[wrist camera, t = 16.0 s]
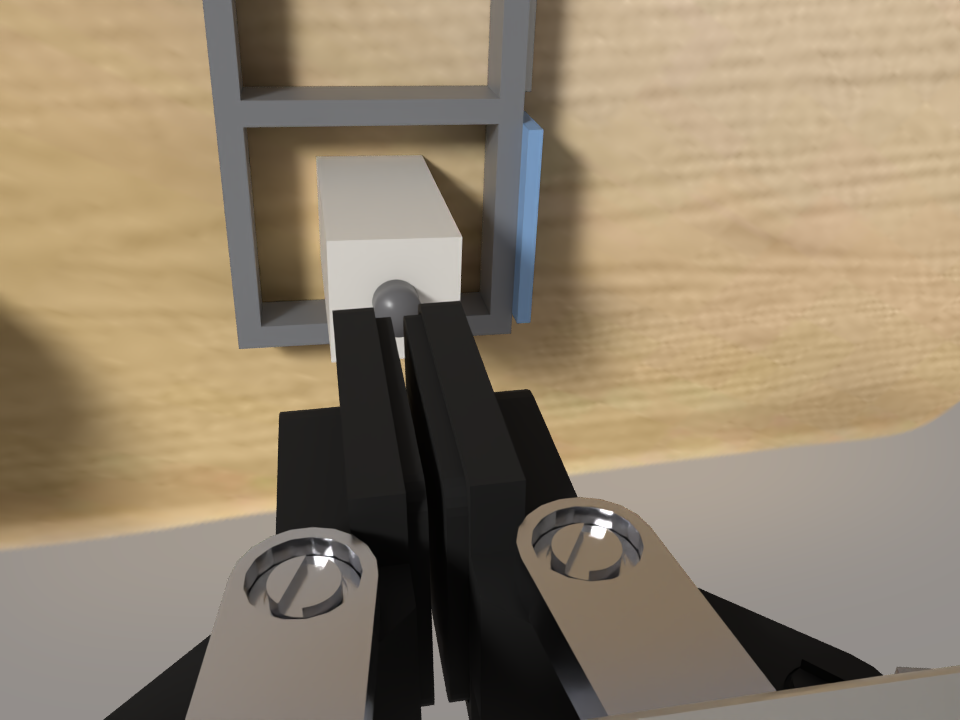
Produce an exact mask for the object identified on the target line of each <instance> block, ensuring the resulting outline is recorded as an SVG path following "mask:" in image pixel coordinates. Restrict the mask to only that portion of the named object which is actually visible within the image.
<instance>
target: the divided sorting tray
mask: <svg viewBox="0 0 960 720" xmlns="http://www.w3.org/2000/svg"><path fill="white" fill-rule="evenodd" d="M536 3H537V0H491V5H490V32H489V58H488V85H487V86H303V87H243V81H242V69H241V58H240V47H239V36H238V24H237V13H236V2H235V0H203V9H204V19H205V28H206V38H207V47H208V57H209V66H210V76H211V85H212V95H213V105H214V114H215V124H216V133H217V143H218V152H219V162H220V171H221V181H222V190H223V200H224V209H225V219H226V229H227V238H228V248H229V257H230V267H231V276H232V286H233V295H234V305H235V314H236V324H237V333H238V343H239V349H247V348H265V347H282V346H300V345H318V344H330V343H329V333H328V323H327V314H326V304H325V299H324V300H303V301H282V302H262V295H261V284H260V273H259V261H258V250H257V239H256V227H255V216H254V205H253V194H252V182H251V171H250V160H249V148H248V137H247V127H311V126H390V125H468V124H486V138H485V164H484V191H483V217H482V244H481V270H480V292H470V293H460V302H461V304H462V307H463V310H464V312H465V315H466V318H467V320H468V323H469V326H470V329H471V331H472V334H473V336H476V335H494V334H511V324H512V314H513V316H514V318H515V320H516V322H517V323H530V321H531V306H532V291H533V277H534V262H535V247H536V233H537V218H538V203H539V189H540V174H541V159H542V145H543V129H542V128H541V127H540V126H539V125H538V124H537V123H536V122H535V121H534V120H533V119H532V118H531V117H530V116H529V115H528V114H527V113H526V112H525V111H524V96H525V92H531V86H532V69H533V53H534V36H535V20H536Z"/></svg>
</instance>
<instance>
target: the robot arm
mask: <svg viewBox="0 0 960 720" xmlns="http://www.w3.org/2000/svg"><path fill="white" fill-rule="evenodd" d="M332 314H333V326H334V339H335V351H336V363H337V376H338V388H339V400H340V407H330V408H320V409H309V410H298V411H287V412H280V414H279V438H278V475H277V511H276V535H274V536H271V537H269V538H267V539H265V540H264V541H262V542H260V543H258V544H257V545H255V546H253V547H251V548H250V549H249V550H248V551H247V552H246V553H245V554H244V555H243V556H242V557H241V558H240V559H239V560H238V561H237V562H236V564H235V566H234V568H233V570H232V572H231V574H230V576H229V578H228V581H227V584H226V587H225V591H224V594H223V597H222V601H221V604H220V607H219V610H218V614H217V617H216V620H215V623H214V627H213V630H212V633H211V635H209V636H208V637H207V638H206V639H204V640H203V641H202V642H201V643H199V644H198V645H197V646H196V647H194V648H193V649H192V650H191V651H189V652H188V653H187V654H186V655H184V656H183V657H182V658H181V659H179V660H178V661H177V662H176V663H174V664H173V665H172V666H171V667H169V668H168V669H167V670H165V671H164V672H163V673H162V674H160V675H159V676H158V677H157V678H155V679H154V680H153V681H152V682H150V683H149V684H148V685H147V686H145V687H144V688H143V689H141V690H140V691H139V692H138V693H136V694H135V695H134V696H133V697H131V698H130V699H129V700H128V701H127V702H125V703H124V704H123V705H121V706H120V707H119V708H118V709H116V710H115V711H114V712H112V713H111V714H110V715H109V716H107V717H106V718H105V719H104V720H421V707H422V706H429V705H434V674H433V673H434V672H433V641H432V615H433V620H434V626H435V631H436V637H437V642H438V647H439V653H440V658H441V664H442V670H443V676H444V681H445V686H446V692H447V697H448V701H449V702H456V701H463V700H465V701H466V706H467V711H468V716H469V720H960V665H958V666H951V667H944V668H937V669H929V668H909V667H897V668H896V671H895V674H892V675H884V676H883V675H882V674H881V673H880V672H879V671H878V670H876V669H875V668H874V667H873V666H871V665H869V664H867V663H866V662H864V661H862V660H860V659H858V658H856V657H855V656H853V655H851V654H849V653H847V652H844V651H842V650H840V649H837V648H835V647H833V646H831V645H828V644H826V643H824V642H821V641H819V640H817V639H815V638H812V637H810V636H808V635H805V634H803V633H801V632H798V631H796V630H794V629H792V628H789V627H787V626H785V625H782V624H780V623H777V622H775V621H773V620H771V619H769V618H766V617H764V616H762V615H759V614H757V613H755V612H752V611H750V610H748V609H746V608H743V607H741V606H739V605H736V604H734V603H732V602H729V601H727V600H725V599H723V598H720V597H718V596H716V595H713V594H711V593H709V592H707V591H704V590H702V589H700V588H697V587H696V585H695V584H694V583H693V582H692V580H691V579H690V578H689V576H688V575H687V574H686V572H685V571H684V570H683V569H682V567H681V566H680V565H679V563H678V562H677V561H676V559H675V558H674V557H673V556H672V554H671V553H670V552H669V550H668V549H667V548H666V547H665V545H664V544H663V542H662V541H661V540H660V539H659V537H658V536H657V535H656V533H655V532H654V531H653V529H652V528H651V527H650V526H649V525H648V524H647V523H646V522H645V521H644V520H643V519H642V518H641V517H640V516H639V515H637V514H636V513H634V512H632V511H630V510H628V509H627V508H625V507H623V506H621V505H618V504H615V503H612V502H608V501H605V500H601V499H593V498H583V497H577V495H576V493H575V490H574V488H573V486H572V483H571V481H570V479H569V476H568V474H567V472H566V470H565V467H564V465H563V463H562V460H561V458H560V456H559V453H558V451H557V449H556V447H555V444H554V442H553V440H552V437H551V435H550V433H549V431H548V428H547V426H546V424H545V421H544V419H543V417H542V415H541V412H540V410H539V408H538V405H537V403H536V401H535V398H534V396H533V395H532V393H531V391H530V390H528V389H524V390H513V391H502V392H494V391H493V389H492V386H491V383H490V380H489V378H488V375H487V372H486V370H485V367H484V364H483V361H482V359H481V356H480V353H479V350H478V348H477V345H476V342H475V340H474V337H473V334H472V331H471V329H470V326H469V323H468V320H467V318H466V315H465V312H464V310H463V307H462V304H461V302H460V301H449V302H436V303H423V304H419V305H418V315H407V316H404V317H403V331H404V353H405V374H406V387H405V382H404V377H403V373H402V368H401V363H400V358H399V353H398V348H397V343H396V339H395V334H394V329H393V324H392V319H391V317H382V318H376V317H375V312H374V307H370V308H357V309H344V310H332ZM431 609H432V612H431Z"/></svg>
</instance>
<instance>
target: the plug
mask: <svg viewBox="0 0 960 720" xmlns="http://www.w3.org/2000/svg"><path fill="white" fill-rule="evenodd" d="M316 166H317V188H318V211H319V233H320V255H321V265H322V275H323V284H324V294H325V304H326V314H327V323H328V333H329V343H330V352H331V362H336V351H335V339H334V326H333V314H332V310H344V309H357V308H370V307H374V312H375V317H376V318H382V317H391V319H392V324H393V329H394V334H395V339H396V343H397V348H398V353H399V358H400V359H402V358H405V353H404V331H403V317H404V316H407V315H418V305H419V304H423V303H436V302H449V301H460V290H461V261H462V235H461V233H460V231H459V229H458V227H457V225H456V223H455V221H454V219H453V217H452V215H451V213H450V211H449V209H448V207H447V205H446V203H445V201H444V199H443V197H442V195H441V193H440V191H439V189H438V187H437V185H436V183H435V181H434V179H433V177H432V175H431V173H430V170H429V168H428V166H427V164H426V162H425V160H424V158H423V156H422V155H386V156H316Z"/></svg>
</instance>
